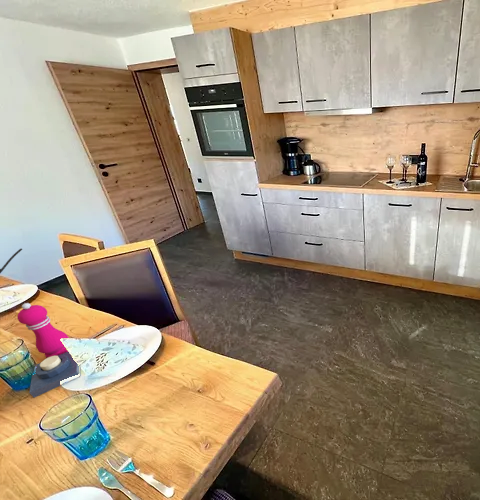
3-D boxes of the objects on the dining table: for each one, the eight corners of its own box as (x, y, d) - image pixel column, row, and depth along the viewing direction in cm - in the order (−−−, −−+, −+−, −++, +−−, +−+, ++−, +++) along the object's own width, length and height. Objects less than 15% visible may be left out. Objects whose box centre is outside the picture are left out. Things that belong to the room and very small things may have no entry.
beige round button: (43, 364, 84) (40, 360, 83) (61, 357, 86) (58, 353, 86) (42, 373, 81) (39, 369, 81) (61, 365, 84) (57, 361, 83)
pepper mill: (39, 359, 91) (0, 310, 81) (64, 342, 97) (30, 294, 87) (56, 363, 89) (18, 313, 79) (80, 346, 95) (47, 297, 86)
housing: (37, 370, 87) (30, 361, 85) (80, 352, 92) (74, 343, 91) (33, 397, 79) (25, 388, 77) (80, 376, 84) (73, 367, 82)
